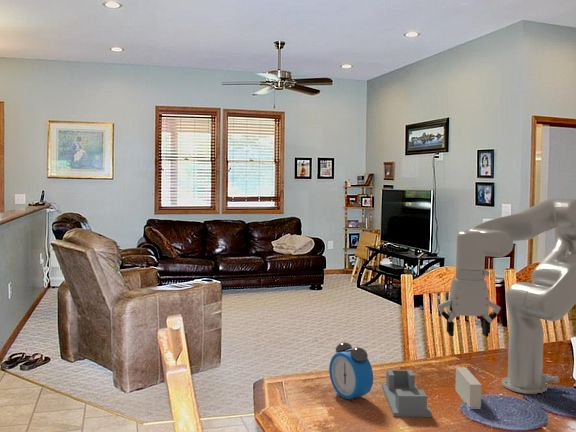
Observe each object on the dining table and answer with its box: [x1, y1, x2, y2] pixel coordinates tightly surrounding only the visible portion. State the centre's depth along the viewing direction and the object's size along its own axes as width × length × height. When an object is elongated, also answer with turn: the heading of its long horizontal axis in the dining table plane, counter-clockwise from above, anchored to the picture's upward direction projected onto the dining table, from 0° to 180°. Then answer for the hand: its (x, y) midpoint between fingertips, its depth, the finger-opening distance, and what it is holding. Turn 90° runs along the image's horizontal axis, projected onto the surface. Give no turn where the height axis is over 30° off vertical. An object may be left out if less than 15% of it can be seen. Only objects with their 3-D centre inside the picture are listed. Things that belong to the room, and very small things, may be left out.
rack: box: [381, 369, 433, 418], centre depth 155 cm, size 10×21×6 cm, turn 179°
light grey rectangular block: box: [454, 366, 482, 408], centre depth 156 cm, size 3×14×7 cm, turn 179°
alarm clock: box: [328, 341, 374, 403], centre depth 158 cm, size 13×6×15 cm, turn 34°
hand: (468, 335), depth 155 cm, fingers open, 9 cm apart
